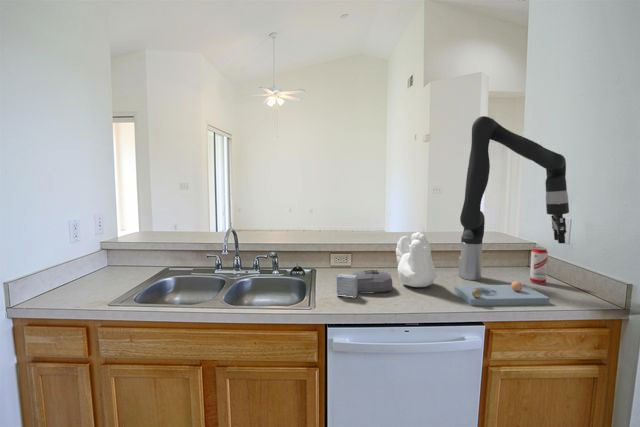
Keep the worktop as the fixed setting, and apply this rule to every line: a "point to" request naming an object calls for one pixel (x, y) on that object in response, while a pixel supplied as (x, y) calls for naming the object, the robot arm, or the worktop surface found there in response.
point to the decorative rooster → (415, 261)
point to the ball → (516, 286)
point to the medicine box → (347, 285)
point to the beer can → (538, 265)
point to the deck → (501, 295)
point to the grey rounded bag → (373, 281)
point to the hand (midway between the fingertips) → (559, 241)
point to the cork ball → (476, 293)
